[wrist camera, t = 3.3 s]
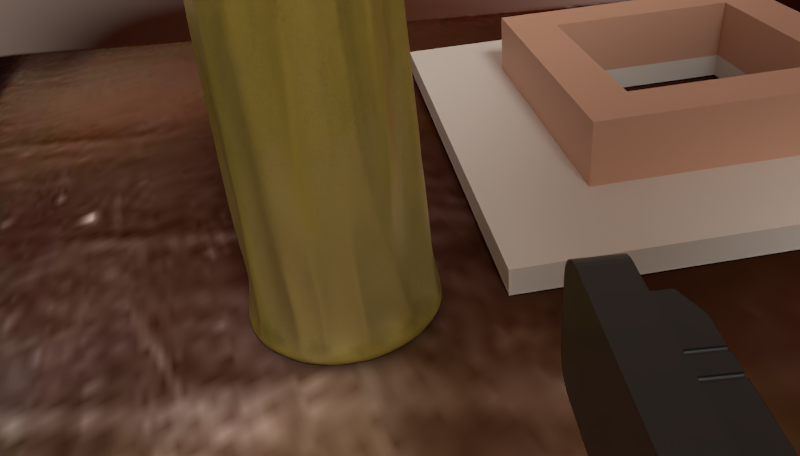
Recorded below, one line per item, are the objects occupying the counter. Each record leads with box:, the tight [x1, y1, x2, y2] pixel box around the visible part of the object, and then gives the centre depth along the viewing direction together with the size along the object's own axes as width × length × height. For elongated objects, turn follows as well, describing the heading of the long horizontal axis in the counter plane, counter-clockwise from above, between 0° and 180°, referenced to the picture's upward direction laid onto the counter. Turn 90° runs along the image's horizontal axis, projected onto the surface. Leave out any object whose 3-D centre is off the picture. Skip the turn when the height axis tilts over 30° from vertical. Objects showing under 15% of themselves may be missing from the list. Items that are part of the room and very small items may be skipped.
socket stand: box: [410, 0, 800, 296], centre depth 31 cm, size 20×20×4 cm
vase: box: [183, 0, 442, 365], centre depth 19 cm, size 6×6×14 cm
